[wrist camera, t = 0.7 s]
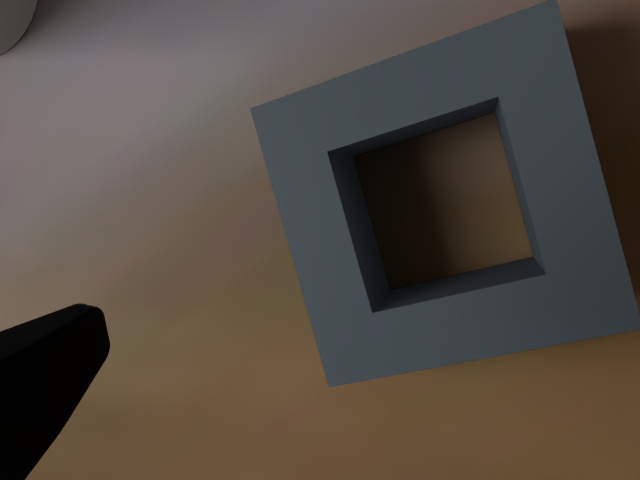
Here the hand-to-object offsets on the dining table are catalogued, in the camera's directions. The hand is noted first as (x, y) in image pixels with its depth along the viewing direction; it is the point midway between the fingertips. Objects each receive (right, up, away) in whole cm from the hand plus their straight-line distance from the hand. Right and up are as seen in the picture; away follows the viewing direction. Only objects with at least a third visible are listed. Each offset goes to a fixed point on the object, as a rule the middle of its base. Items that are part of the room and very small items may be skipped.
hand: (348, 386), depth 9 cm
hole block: (+4, +4, +13) cm, 14 cm away
